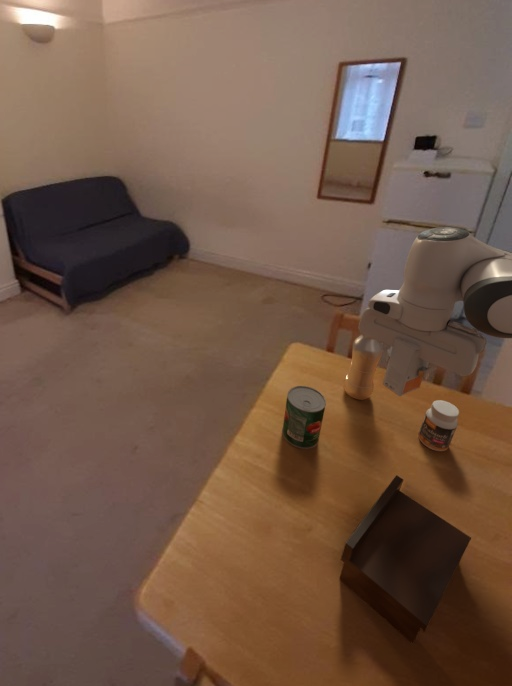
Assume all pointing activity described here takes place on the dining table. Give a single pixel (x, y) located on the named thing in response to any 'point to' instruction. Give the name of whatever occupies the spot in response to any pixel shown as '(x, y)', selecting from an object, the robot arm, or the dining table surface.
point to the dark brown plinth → (402, 560)
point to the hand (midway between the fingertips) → (406, 369)
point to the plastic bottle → (363, 367)
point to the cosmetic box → (403, 368)
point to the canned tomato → (303, 416)
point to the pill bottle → (439, 425)
